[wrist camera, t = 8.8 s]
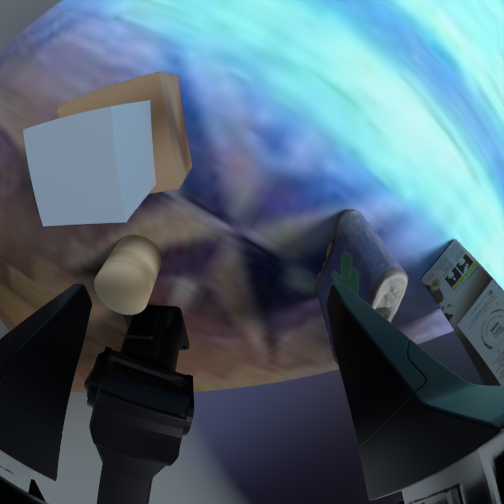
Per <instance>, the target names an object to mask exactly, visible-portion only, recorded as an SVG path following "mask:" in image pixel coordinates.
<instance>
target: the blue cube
mask: <svg viewBox="0 0 504 504" xmlns="http://www.w3.org/2000/svg"><path fill="white" fill-rule="evenodd" d="M23 132H24V140H25V148H26V154H27V160H28V166H29V171H30V176H31V181H32V186H33V190H34V194H35V199H36V203H37V206H38V210H39V214H40V217H41V221H42V224H43V226H58V225H75V224H95V223H120V222H127V220H128V219H129V218H130V216H131V215H132V214H133V212H134V211H135V210H136V209H137V207H138V206H139V205H140V204H141V202H142V201H143V200H144V199H145V197H146V196H147V195H148V194H149V192H150V191H151V190H152V189H153V188H154V186H155V185H156V177H155V167H154V155H153V142H152V127H151V107H150V100H148V101H140V102H134V103H127V104H121V105H116V106H110V107H105V108H100V109H96V110H91V111H87V112H82V113H78V114H74V115H70V116H67V117H63V118H59V119H56V120H52V121H49V122H46V123H42V124H39V125H36V126H33V127H30V128H27V129H24V130H23Z"/></svg>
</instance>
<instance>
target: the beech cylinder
mask: <svg viewBox="0 0 504 504" xmlns="http://www.w3.org/2000/svg"><path fill="white" fill-rule="evenodd" d="M161 264H162V257H161V254H160V251H159V250H158V248H157V247H156V245H155V244H154V243H153V242H151V241H150V240H149V239H147V238H145V237H142V236H138V235H129V236H126V237H123V238H122V239H121V240H120V241H119V242H118V243H117V245H116V246H115V248H114V249H113V251H112V252H111V254H110V255H109V257H108V258H107V260H106V262H105V263H104V265H103V266H102V268H101V270H100V271H99V273H98V274H97V276H96V278H95V281H94V289H95V292H96V294H97V296H98V298H99V299H100V301H101V302H102V303H103V304H104V305H105V306H107V307H108V308H110V309H111V310H113V311H115V312H117V313H120V314H125V315H134V314H138V313H140V312H142V311H143V310H144V309H145V308H146V306H147V304H148V301H149V298H150V295H151V292H152V289H153V287H154V284H155V281H156V278H157V276H158V273H159V270H160V268H161Z"/></svg>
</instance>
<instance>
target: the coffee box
mask: <svg viewBox="0 0 504 504" xmlns="http://www.w3.org/2000/svg"><path fill="white" fill-rule="evenodd" d="M421 280H422V282H423V283H424V285H425V286H426V288H427V289H428V291H429V292H430V294H431V295H432V297H433V298H434V300H435V301H436V303H437V304H438V305H439V307H440V309H441V310H442V312H443V313H444V315H445V316H446V318H447V319H448V321H449V323H450V324H451V326H452V327H453V329H454V331H455V332H456V334H457V336H458V337H459V339H460V341H461V342H462V344H463V346H464V348H465V350H466V351H467V353H468V355H469V357H470V359H471V360H472V362H473V364H474V366H475V368H476V370H477V372H478V374H479V376H480V378H481V380H482V382H483V384H484V385H486V386H504V291H503V289H502V288H501V287H500V286H499V285H498V284H497V282H496V281H495V280H494V279H493V278H492V277H491V276H490V274H489V273H488V272H487V271H486V270H485V269H484V268H483V267H482V266H481V265H480V263H479V262H478V261H477V260H476V259H475V258H474V257H473V256H472V255H471V254H470V253H469V252H468V251H467V250H466V249H465V248H464V247H463V246H462V245H461V244H460V243H459V242H458V241H457V240H456V239H454V240H453V241H452V243H451V244H450V245H449V246H448V248H447V249H446V250H445V251H444V253H443V254H442V255H441V256H440V257H439V259H438V260H437V261H436V262H435V263H434V264H433V266H432V267H431V268H430V269H429V270H428V271H427V272H426V274H425V275H424V276H423V277H422V279H421Z"/></svg>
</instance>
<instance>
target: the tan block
mask: <svg viewBox="0 0 504 504" xmlns="http://www.w3.org/2000/svg"><path fill="white" fill-rule="evenodd" d="M148 100H150V107H151V127H152V142H153V155H154V167H155V177H156V185H155V186H154V188H153V189H152V190H151V191H150V192H149V194H150V193H156V192H162V191H169V190H175V189H179V188H180V186H181V185H182V183H183V181H184V180H185V178H186V176H187V175H188V173H189V171H190V170H191V168H192V162H191V156H190V150H189V144H188V138H187V132H186V125H185V119H184V112H183V105H182V98H181V91H180V84H179V76H177V75H172V74H167V73H162V72H157V73H153V74H149V75H145V76H142V77H138V78H134V79H131V80H128V81H124V82H121V83H118V84H115V85H112V86H109V87H106V88H103V89H100V90H98V91H95V92H92V93H90V94H87V95H84V96H82V97H79V98H77V99H75V100H72V101H70V102H68V103H65V104H63V105H61V106H59V107H57V108H58V114H59V118H63V117H67V116H70V115H74V114H78V113H82V112H87V111H91V110H96V109H100V108H105V107H110V106H116V105H121V104H127V103H134V102H140V101H148Z"/></svg>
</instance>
